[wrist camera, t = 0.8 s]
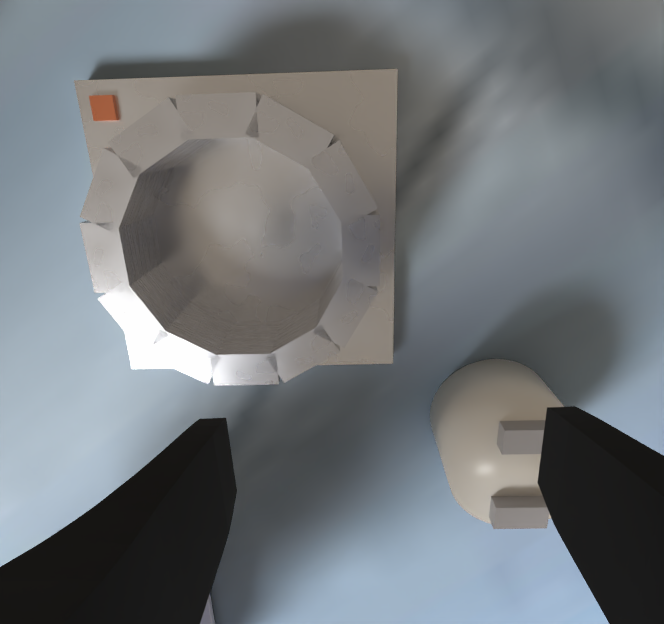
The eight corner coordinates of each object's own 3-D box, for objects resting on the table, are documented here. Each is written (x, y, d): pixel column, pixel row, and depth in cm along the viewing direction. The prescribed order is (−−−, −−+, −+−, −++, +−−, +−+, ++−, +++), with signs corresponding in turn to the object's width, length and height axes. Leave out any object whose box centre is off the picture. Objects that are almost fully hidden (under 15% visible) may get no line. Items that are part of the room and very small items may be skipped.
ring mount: (391, 355, 20) (401, 401, 17) (139, 360, 21) (97, 407, 17) (395, 71, 17) (409, 54, 13) (85, 82, 17) (18, 69, 13)
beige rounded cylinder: (541, 460, 22) (590, 537, 18) (427, 461, 22) (447, 539, 18) (557, 357, 20) (615, 416, 16) (432, 359, 21) (456, 419, 16)
